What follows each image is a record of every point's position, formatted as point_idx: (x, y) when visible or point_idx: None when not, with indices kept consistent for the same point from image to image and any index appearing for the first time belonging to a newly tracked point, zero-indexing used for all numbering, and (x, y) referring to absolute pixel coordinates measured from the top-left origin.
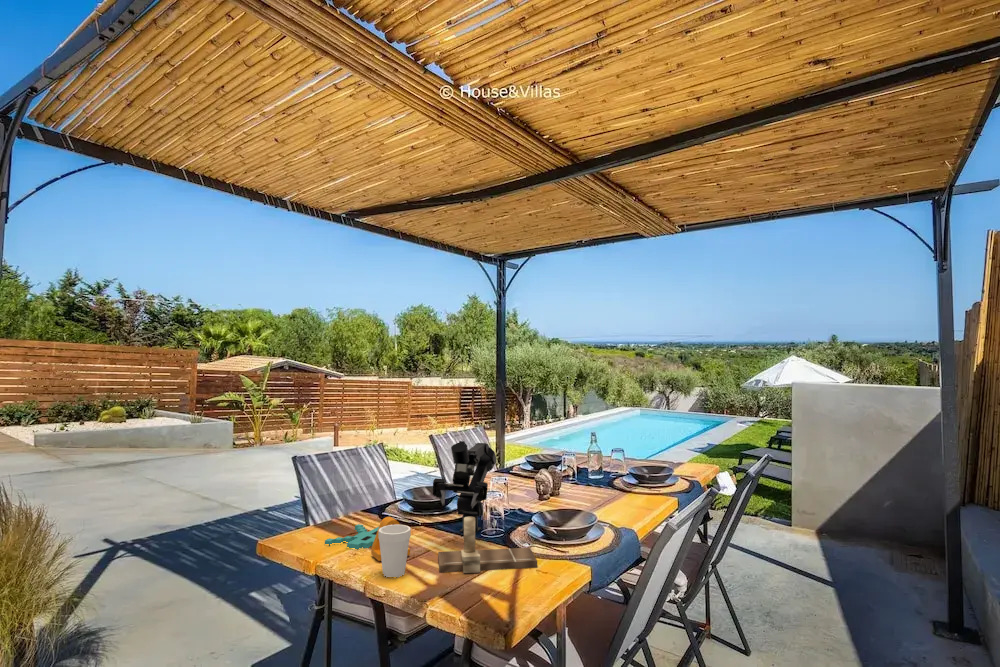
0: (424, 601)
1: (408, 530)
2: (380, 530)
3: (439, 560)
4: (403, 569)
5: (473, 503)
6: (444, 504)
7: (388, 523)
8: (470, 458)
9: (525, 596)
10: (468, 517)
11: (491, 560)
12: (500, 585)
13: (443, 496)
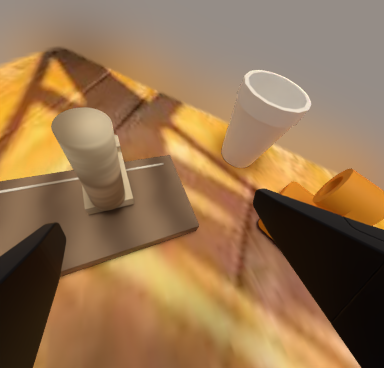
0: (161, 93)
1: (246, 82)
2: (296, 86)
3: (178, 176)
4: (223, 143)
5: (18, 244)
6: (258, 204)
7: (348, 170)
8: None
9: (4, 95)
10: (89, 131)
11: (46, 188)
12: (45, 124)
13: (318, 214)
